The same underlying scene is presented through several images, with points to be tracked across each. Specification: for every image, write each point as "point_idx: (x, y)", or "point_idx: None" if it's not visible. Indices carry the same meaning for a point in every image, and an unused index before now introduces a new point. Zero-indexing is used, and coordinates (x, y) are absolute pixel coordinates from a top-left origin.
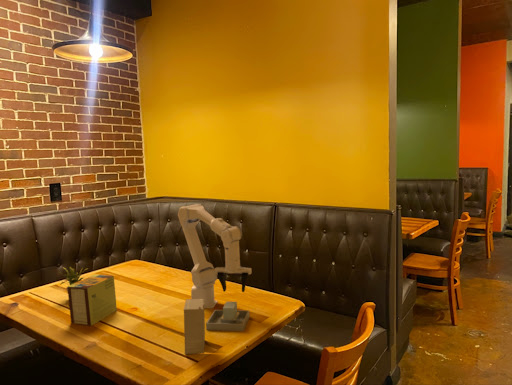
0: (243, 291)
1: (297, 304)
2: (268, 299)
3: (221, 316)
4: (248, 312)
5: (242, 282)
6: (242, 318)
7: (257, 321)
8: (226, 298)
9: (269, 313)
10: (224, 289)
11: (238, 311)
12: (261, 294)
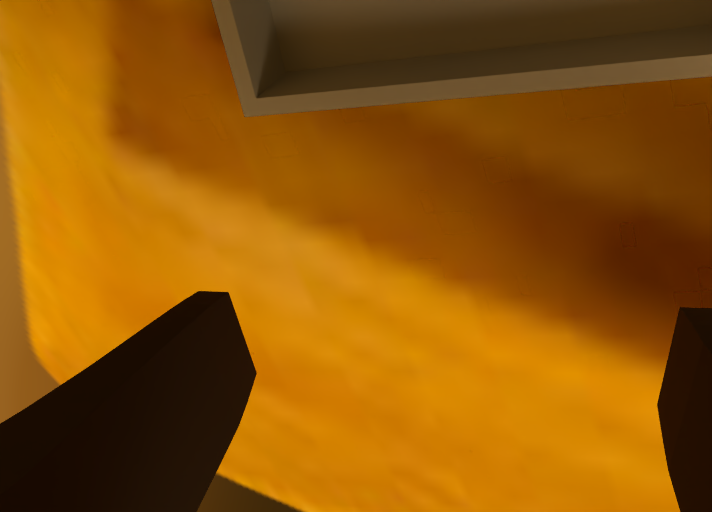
0: (189, 297)
1: (48, 362)
2: (279, 435)
3: (665, 27)
4: (228, 57)
5: (3, 473)
6: (338, 22)
7: (157, 7)
8: (669, 474)
9: (145, 210)
10: (706, 341)
11: (388, 83)
12: (364, 503)
